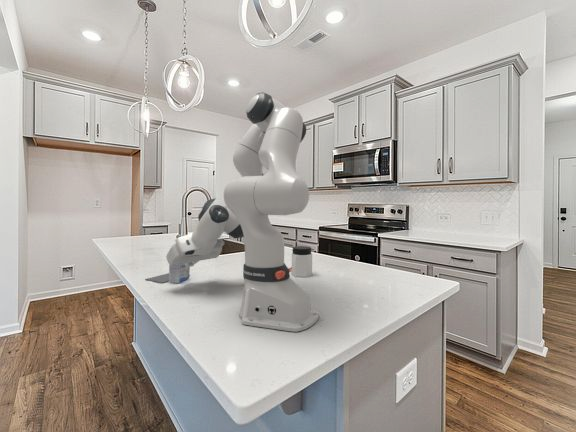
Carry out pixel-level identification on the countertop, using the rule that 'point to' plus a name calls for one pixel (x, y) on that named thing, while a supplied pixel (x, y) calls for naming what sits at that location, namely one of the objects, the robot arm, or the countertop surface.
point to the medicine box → (178, 273)
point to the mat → (160, 278)
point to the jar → (301, 261)
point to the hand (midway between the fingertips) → (188, 265)
